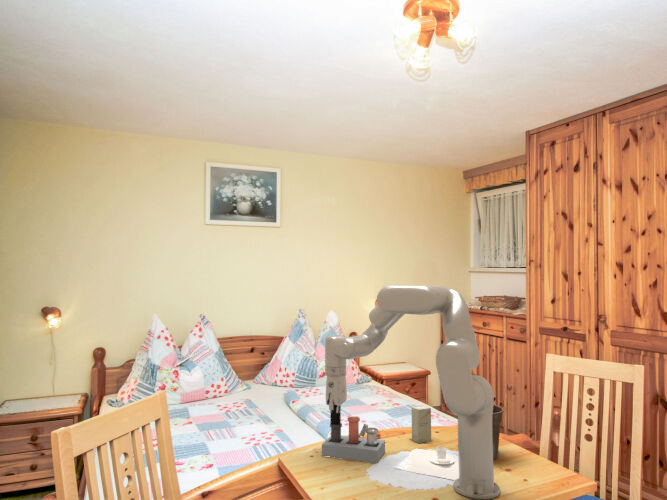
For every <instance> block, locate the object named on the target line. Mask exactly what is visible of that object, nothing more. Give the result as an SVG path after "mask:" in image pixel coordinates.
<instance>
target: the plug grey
mask: <svg viewBox="0 0 667 500" xmlns="http://www.w3.org/2000/svg"><path fill="white" fill-rule="evenodd" d="M378 433H379V428H377V427H368V428H366V433H365V434H366V438H367V446H372V447H377V439H378Z"/></svg>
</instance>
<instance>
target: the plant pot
mask: <svg viewBox="0 0 667 500" xmlns="http://www.w3.org/2000/svg"><path fill="white" fill-rule="evenodd" d="M503 413H504V408H503V407H502V406H499V405H497V404H494V403H493V414H492V438H493V460H497V459H498V457H499V445H500V434H501V433H500V431H501V423H502V419H503ZM456 419H457V420H458V416H457V415H456Z"/></svg>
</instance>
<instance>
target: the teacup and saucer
mask: <svg viewBox="0 0 667 500" xmlns="http://www.w3.org/2000/svg"><path fill="white" fill-rule="evenodd" d="M435 452H436V454H435V455H432V456H430V457H429V461H430V462H431V463H433V464H436V465H443V466H445V465H451V464H453V463H454V462H455V461H456V460H455V459H454V458H453V457H452V456H449V455H447V454H448V453H447V448H446V447H444V446H437V447H436V451H435Z"/></svg>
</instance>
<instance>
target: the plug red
mask: <svg viewBox="0 0 667 500" xmlns="http://www.w3.org/2000/svg"><path fill="white" fill-rule="evenodd" d="M360 421H361V419H360V417H359V416H348V417H347V422H348V434H349V443H352V444H356V443H359V434H360V431H359V428H360V427H359V422H360Z"/></svg>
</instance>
